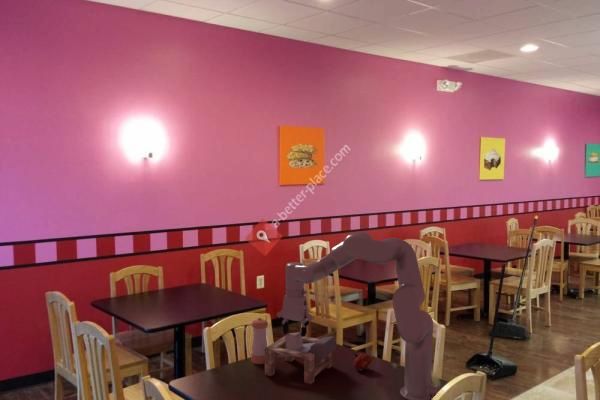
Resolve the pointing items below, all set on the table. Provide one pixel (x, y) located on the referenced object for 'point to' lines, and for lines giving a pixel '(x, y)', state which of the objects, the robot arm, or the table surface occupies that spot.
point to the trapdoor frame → (309, 367)
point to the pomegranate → (362, 361)
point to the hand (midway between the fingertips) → (294, 334)
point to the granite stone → (294, 341)
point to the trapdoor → (317, 348)
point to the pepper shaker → (259, 341)
